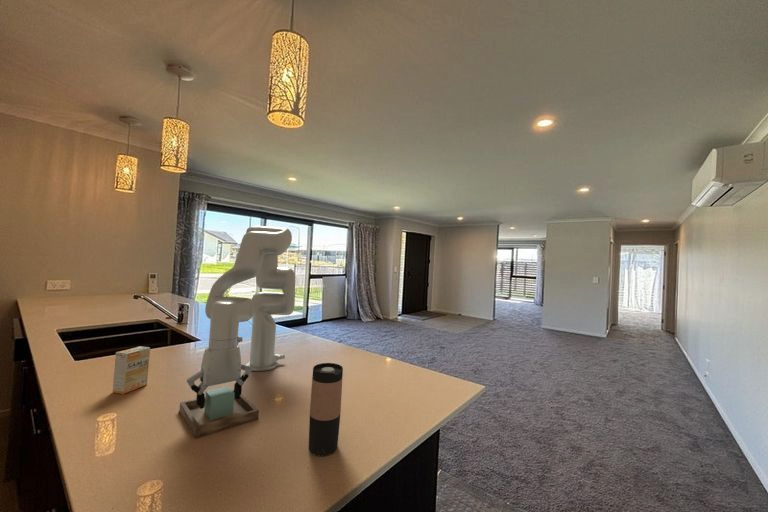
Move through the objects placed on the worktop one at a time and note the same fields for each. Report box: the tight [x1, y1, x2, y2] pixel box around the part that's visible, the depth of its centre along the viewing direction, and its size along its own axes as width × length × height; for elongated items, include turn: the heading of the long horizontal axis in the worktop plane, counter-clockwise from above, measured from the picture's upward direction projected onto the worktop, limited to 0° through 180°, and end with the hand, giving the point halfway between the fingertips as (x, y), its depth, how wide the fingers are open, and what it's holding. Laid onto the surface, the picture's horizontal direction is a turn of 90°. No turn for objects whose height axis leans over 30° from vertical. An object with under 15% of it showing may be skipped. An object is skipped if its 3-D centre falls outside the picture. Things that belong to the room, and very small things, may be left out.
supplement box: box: [112, 346, 151, 395], centre depth 104 cm, size 8×5×13 cm, turn 168°
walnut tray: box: [179, 389, 260, 439], centre depth 90 cm, size 16×18×2 cm
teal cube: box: [204, 386, 235, 420], centre depth 90 cm, size 6×6×6 cm
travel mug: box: [308, 362, 344, 457], centre depth 78 cm, size 8×8×20 cm
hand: (219, 402), depth 90 cm, fingers open, 9 cm apart
